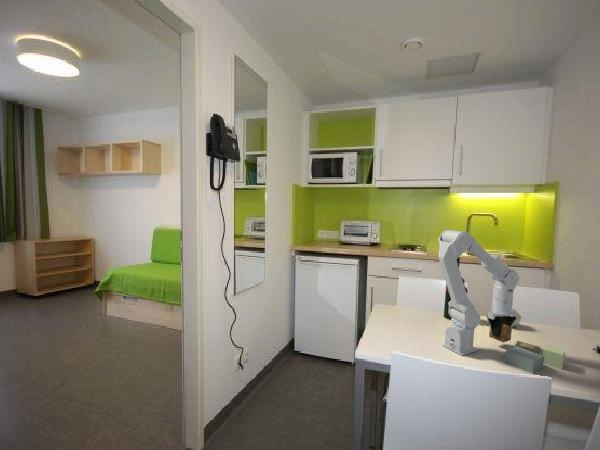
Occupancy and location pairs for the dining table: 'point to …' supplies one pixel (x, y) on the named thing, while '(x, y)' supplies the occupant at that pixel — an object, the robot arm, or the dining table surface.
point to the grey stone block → (516, 320)
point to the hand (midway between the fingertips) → (500, 334)
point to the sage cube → (554, 356)
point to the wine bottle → (448, 298)
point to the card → (528, 347)
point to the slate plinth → (524, 359)
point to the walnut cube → (502, 334)
